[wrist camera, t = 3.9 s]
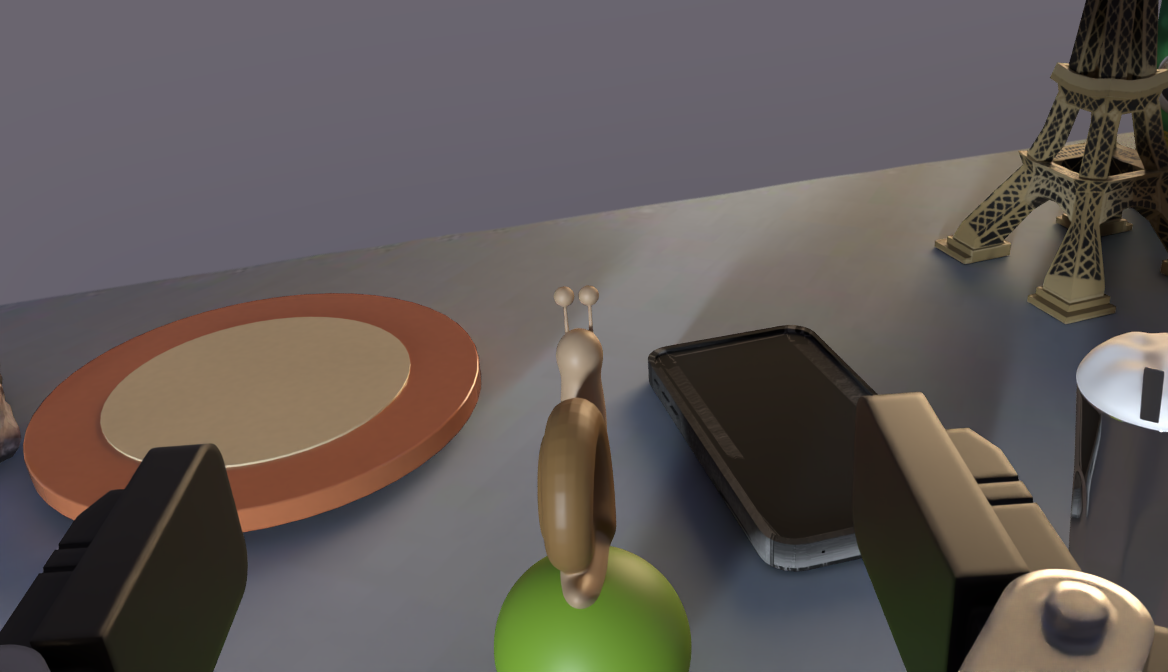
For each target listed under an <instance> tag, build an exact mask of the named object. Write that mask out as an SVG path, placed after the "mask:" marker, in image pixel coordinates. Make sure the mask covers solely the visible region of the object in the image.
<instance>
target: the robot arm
mask: <svg viewBox="0 0 1168 672" xmlns="http://www.w3.org/2000/svg"><path fill="white" fill-rule="evenodd" d="M852 515H853V524H854V531H855V536H856V541H857V545H858V548H859V551H860V554H861V556H862V559H863V561H864V564H865V567H866V569H867V572H868V574H869V577H870V579H871V582H872V584H873V587H874V589H875V592H876V594H877V597H878V599H879V602H880V605H881V607H882V610H883V612H884V615H885V617H886V620H887V622H888V625H889V627H890V630H891V632H892V635H893V637H894V640H895V643H896V645H897V648H898V650H899V653H900V655H901V658H902V660H903V663H904V665H905V668H906V670H907V672H1168V628H1164V627H1161V626H1157V625H1154V622H1153V620H1152V617H1151V615H1150V614H1149V612H1148V610H1147V609H1146V607H1145V606H1144V605H1143V604H1142V603H1141V602H1140V601H1139V600H1138V599H1137V598H1136V597H1134V596H1133V595H1132V594H1131V593H1129V592H1128V591H1126V590H1125V589H1123V588H1122V587H1120V586H1118V585H1116V584H1114V583H1112V582H1110V581H1108V580H1106V579H1103V578H1100V577H1097V576H1095V575H1091V574H1087V573H1083V572H1082V570H1081V569H1080V567H1079V566H1078V564H1077V563H1076V561H1075V560H1074V558H1073V557H1072V555H1071V554H1070V552H1069V551H1068V549H1067V548H1066V546H1065V545H1064V543H1063V542H1062V540H1061V539H1060V537H1059V536H1058V534H1057V533H1056V531H1055V530H1054V528H1053V527H1052V525H1051V524H1050V522H1049V521H1048V519H1047V518H1046V516H1045V515H1044V513H1043V512H1042V510H1041V509H1040V507H1039V506H1038V504H1037V503H1033V497H1032V496H1031V494H1030V493H1029V491H1028V490H1027V488H1026V487H1025V485H1024V484H1023V482H1022V481H1019V479H1018V475H1017V473H1016V472H1015V470H1014V469H1013V467H1012V466H1011V464H1010V463H1009V461H1008V460H1007V458H1006V457H1005V455H1004V454H1003V452H1002V451H1001V449H999V448H998V447H996V446H995V445H993V444H992V443H990V442H989V441H987V440H986V439H984V438H983V437H981V436H980V435H978V434H977V433H975V432H974V431H972V430H971V429H969V428H961V429H948V430H945V429H944V427H943V426H942V424H941V422H940V421H939V419H938V417H937V416H936V414H935V413H934V411H933V409H932V408H931V406H930V404H929V403H928V401H927V399H926V398H925V396H924V395H923V394H922V393H921V392H912V393H898V394H885V395H872V396H861V397H860V398H859V399H858V402H857V406H856V415H855V438H854V462H853V486H852ZM247 569H248V562H247V550H246V544H245V539H244V536H243V532H242V528H241V524H240V520H239V517H238V513H237V509H236V505H235V501H234V498H233V494H232V490H231V486H230V482H229V479H228V475H227V471H226V467H225V463H224V460H223V457H222V454H221V452H220V450H219V449H218V447H217V446H216V445H214V444H212V443H208V444H195V445H182V446H168V447H155V448H152V449H150V450H149V451H148V453H147V454H146V455H145V457H144V459H143V460H142V462H141V463H140V465H139V467H138V468H137V470H136V471H135V473H134V475H133V476H132V478H131V479H130V481H129V483H128V484H127V486H126V487H125V489H116V490H110V491H109V492H107V493H106V494H105V495H103V496H102V497H101V498H100V499H98V500H97V501H96V502H95V503H93V504H92V505H91V506H89V507H88V508H87V509H86V510H84V511H83V512H82V513H81V514H79V515H78V516H77V517H76V519H75V520H74V522H73V523H72V525H71V526H70V528H69V529H68V531H67V532H66V534H65V535H64V537H63V538H62V540H61V541H60V543H59V550H54V552H53V553H52V555H51V556H50V558H49V559H48V561H47V562H46V564H45V565H44V567H43V573H39V574H38V576H37V577H36V579H35V580H34V582H33V583H32V585H31V586H30V588H29V589H28V591H27V592H26V594H25V595H24V597H23V598H22V600H21V601H20V603H19V604H18V606H17V607H16V609H15V610H14V612H13V613H12V615H11V616H10V618H9V619H8V621H7V622H6V624H5V625H4V627H3V628H2V630H1V631H0V672H213V670H214V668H215V665H216V663H217V660H218V658H219V655H220V653H221V650H222V648H223V645H224V643H225V640H226V637H227V635H228V632H229V630H230V627H231V625H232V622H233V620H234V617H235V615H236V612H237V610H238V607H239V604H240V602H241V599H242V597H243V594H244V591H245V587H246V581H247Z"/></svg>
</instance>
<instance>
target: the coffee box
mask: <svg viewBox="0 0 1168 672" xmlns="http://www.w3.org/2000/svg"><path fill="white" fill-rule="evenodd" d="M1157 69H1168V0H1162V3H1161V8H1160V13H1159V19H1158V40H1157ZM1159 101H1160V108H1161V115H1162V123H1163V131H1164V138H1165V141H1166V144H1167V147H1168V88H1166V89H1163V91H1162V93H1161V95H1160V98H1159ZM1135 150H1136V149H1135Z"/></svg>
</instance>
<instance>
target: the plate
mask: <svg viewBox="0 0 1168 672" xmlns="http://www.w3.org/2000/svg"><path fill="white" fill-rule="evenodd" d="M480 390H481V370H480V362H479V356H478V353H477V350H476V346H475V344H474V343H473V341H472V339H471V338H470V336H469V335H468V333H467V332H466V331H465V330H464V329H463V328H462V327H461V326H460V325H459V324H458V323H456V322H455V321H453V320H452V319H450V318H449V317H447V316H446V315H444V314H441V313H439V312H437V311H435V310H433V309H431V308H428V307H425V306H422V305H419V304H416V303H413V302H409V301H405V300H400V299H396V298H390V297H383V296H376V295H364V294H344V293H325V294H304V295H294V296H284V297H276V298H270V299H263V300H256V301H251V302H246V303H241V304H236V305H231V306H227V307H223V308H219V309H215V310H211V311H207V312H203V313H200V314H197V315H194V316H190V317H187V318H184V319H181V320H178V321H175V322H172V323H169V324H167V325H164V326H161V327H158V328H156V329H153V330H151V331H149V332H146V333H144V334H142V335H139V336H137V337H134V338H132V339H130V340H128V341H126V342H124V343H122V344H120V345H118V346H116V347H114V348H112V349H110V350H109V351H107V352H105V353H103V354H102V355H100V356H98V357H97V358H95V359H93V360H91V361H90V362H88V363H87V364H86V365H84V366H83V367H81V368H80V369H78V370H77V371H75V372H74V373H73V374H71V375H70V376H69V377H68V378H67V379H65V380H64V381H63V382H62V383H61V384H59V385H58V386H57V387H56V388H55V389H54V390H53V391H52V392H51V393H50V394H49V395H48V396H47V397H46V398H45V400H44V401H43V402H42V403H41V405H40V406H39V407H38V409H37V410H36V412H35V413H34V414H33V416H32V418H31V420H30V423H29V425H28V427H27V429H26V433H25V438H24V443H23V452H24V461H25V464H26V466H27V469H28V472H29V475H30V478H31V480H32V482H33V484H34V487H35V489H36V491H37V492H38V493H39V495H40V496H41V497H42V498H43V499H44V500H45V502H46V503H47V504H48V505H49V506H51V507H52V508H54V509H55V510H57V511H58V512H59V513H61V514H62V515H64V516H65V517H68V518H70V519H72V520H75V519H76V517H77V516H78V515H79V514H81V513H82V512H83V511H84V510H86V509H87V508H88V507H89V506H91V505H92V504H93V503H95V502H96V501H97V500H98V499H100V498H101V497H102V496H103V495H105V494H106V493H107V492H109V491H110V490H116V489H125V487H126V486H127V484H128V483H129V481H130V479H131V478H132V476H133V475H134V473H135V471H136V470H137V468H138V467H139V465H140V463H141V462H142V460H143V459H144V457H145V455H146V454H147V453H148V451H149V450H150V449H152V448H155V447H168V446H182V445H195V444H208V443H212V444H214V445H216V446H217V447H218V449H219V450H220V452H221V454H222V457H223V460H224V463H225V467H226V471H227V475H228V479H229V482H230V486H231V490H232V494H233V498H234V501H235V505H236V509H237V513H238V517H239V520H240V524H241V528H242V532H248V531H253V530H259V529H264V528H269V527H274V526H278V525H282V524H286V523H290V522H293V521H297V520H301V519H305V518H308V517H311V516H314V515H317V514H320V513H323V512H326V511H329V510H332V509H335V508H338V507H341V506H343V505H346V504H348V503H350V502H353V501H355V500H358V499H360V498H362V497H365V496H367V495H370V494H372V493H374V492H376V491H377V490H379V489H381V488H383V487H385V486H387V485H389V484H391V483H393V482H395V481H397V480H399V479H400V478H402V477H403V476H405V475H407V474H408V473H410V472H411V471H413V470H415V469H416V468H418V467H419V466H421V465H422V464H424V463H425V462H426V461H427V460H429V459H430V458H431V457H433V456H434V455H435V454H436V453H438V452H439V451H440V450H442V449H443V448H444V447H445V446H446V445H447V444H448V443H449V442H450V441H451V440H452V439H453V438H454V437H455V436H456V435H457V434H458V432H459V431H460V430H461V428H462V427H463V426H464V425H465V423H466V422H467V421H468V419H469V418H470V416H471V414H472V412H473V410H474V408H475V406H476V404H477V401H478V397H479V393H480Z"/></svg>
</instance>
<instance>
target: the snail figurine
mask: <svg viewBox="0 0 1168 672" xmlns="http://www.w3.org/2000/svg"><path fill="white" fill-rule="evenodd" d="M598 298H599V293H598V291H597V289H596V288H595V287H593V286H584V287H583V288H581V290H580V291H579V300H580V302H581V303H582V304H584V305H587V306H588V311H589V330H586V329H580V328H578V329H573V330H571V331H569V327H568V318H567V306H569V305H570V304H571V303H572V302H573V300H574V293H573V291H572V290H571V289H570V288H568V287H560V288H558V289H557V290H556V291H555V293H554V300H555V302H556V303H557V304H558V305H559V306H563V310H564V319H565V335H564V336H563V337H562V338H561V340H560V341H559V344H558V346H557V351H556V359H557V364H558V367H559V370H560V374H561V403H559V404H558V405H557V406H555V408H554V409H553V411H552V412H551V414H550V416H549V418H548V421H547V425H546V429H545V435H544V437H543V440H542V443H541V447H540V453H539V462H538V512H539V522H540V528H541V533H542V536H543V538H544V543H545V549H546V553H547V556H546V557H544V558H543V559H541V560H540V561H538V562H537V563H535V564H534V565H533V566H531V567H530V568H529V569H528V570H527V571H526V572H525V573H524V574H523V575H522V576H521V577H520V578H519V579H518V580H517V582H516V583H515V584H514V586H513V587H512V589H511V590H510V592H509V593H508V595H507V597H506V599H505V601H504V603H503V605H502V608H501V610H500V613H499V616H498V620H497V624H496V629H495V636H494V658H495V665H496V670H497V672H689V667H690V660H691V634H690V628H689V623H688V619H687V616H686V613H685V610H684V607H683V605H682V603H681V601H680V599H679V597H678V595H677V593H676V592H675V590H674V588H673V587H672V586H671V584H670V583H669V582H668V580H667V579H666V578H665V577H664V576H663V575H662V574H661V573H660V572H659V571H658V570H657V569H656V568H655V567H654V566H652V565H651V564H650V563H648V562H647V561H645V560H644V559H642V558H640V557H639V556H637V555H635V554H633V553H631V552H628V551H626V550H623V549H620V548H616V547H612V546H610V544H611V542H612V539H613V537H614V535H615V531H616V509H615V492H614V481H613V470H612V461H611V453H610V446H609V440H608V435H607V421H606V409H605V401H604V394H603V388H602V382H601V367H602V361H603V350H602V346H601V344H600V342H599V340H598V338H597V337H596V336H595V335H594V333H593V326H592V309H591V305H593V304H595V303H596V302H597V300H598Z"/></svg>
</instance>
